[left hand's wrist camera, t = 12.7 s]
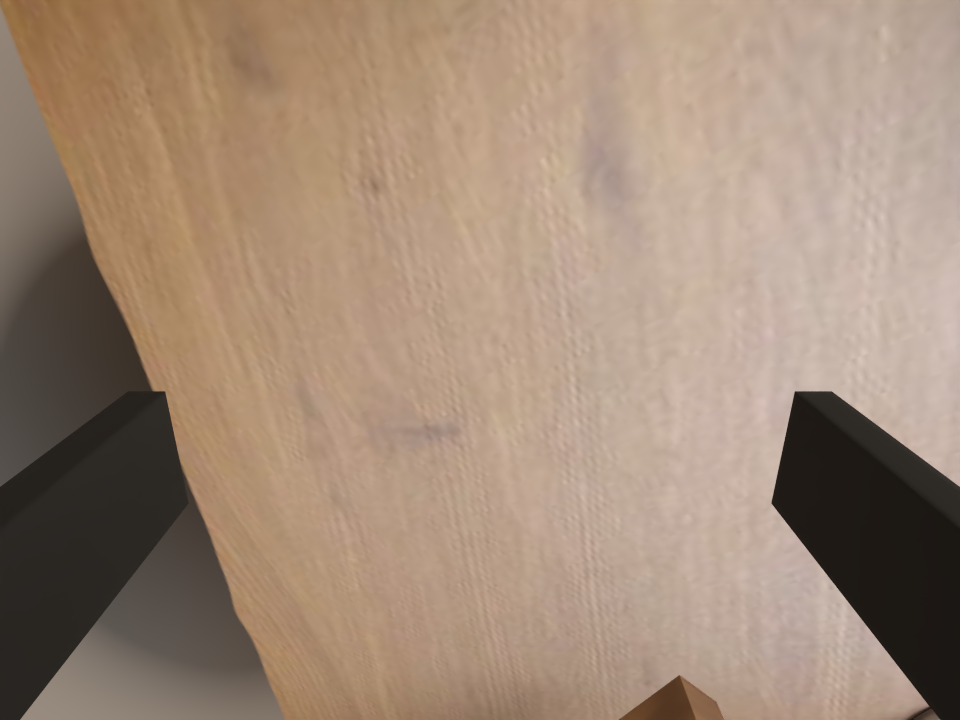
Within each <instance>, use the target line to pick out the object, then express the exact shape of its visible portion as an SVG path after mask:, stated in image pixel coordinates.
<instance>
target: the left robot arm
mask: <svg viewBox="0 0 960 720" xmlns="http://www.w3.org/2000/svg"><path fill="white" fill-rule="evenodd" d="M187 505H188V499H187V494H186V489H185V484H184V480H183V475H182V470H181V465H180V460H179V456H178V451H177V446H176V441H175V437H174V432H173V427H172V422H171V418H170V413H169V408H168V403H167V399H166V394H165V392H127V393H126V394H124V395H123V396H122V397H120V398H119V399H118V400H116V401H115V402H114V403H112V404H111V405H110V406H108V407H107V408H105V409H104V410H103V411H102V412H100V413H99V414H97V415H96V416H95V417H94V418H92V419H91V420H89V421H88V422H87V423H85V424H84V425H83V426H81V427H80V428H79V429H77V430H76V431H75V432H73V433H72V434H71V435H69V436H68V437H67V438H65V439H64V440H63V441H61V442H60V443H59V444H57V445H56V446H55V447H53V448H52V449H51V450H49V451H48V452H47V453H45V454H44V455H42V456H41V457H40V458H38V459H37V460H36V461H34V462H33V463H32V464H30V465H29V466H28V467H26V468H25V469H24V470H22V471H21V472H20V473H18V474H17V475H16V476H14V477H13V478H12V479H10V480H9V481H8V482H6V483H5V484H4V485H2V486H1V487H0V720H20V719H21V718H22V716H23V715H24V714H25V712H26V711H27V710H28V709H29V707H30V706H31V705H32V704H33V702H34V701H35V700H36V698H37V697H38V696H39V695H40V693H41V692H42V691H43V689H44V688H45V687H46V686H47V684H48V683H49V682H50V680H51V679H52V678H53V677H54V675H55V674H56V673H57V671H58V670H59V669H60V668H61V666H62V665H63V664H64V662H65V661H66V660H67V659H68V657H69V656H70V655H71V653H72V652H73V651H74V650H75V648H76V647H77V646H78V645H79V643H80V642H81V641H82V639H83V638H84V637H85V636H86V634H87V633H88V632H89V630H90V629H91V628H92V627H93V625H94V624H95V623H96V621H97V620H98V619H99V618H100V616H101V615H102V614H103V612H104V611H105V610H106V609H107V607H108V606H109V605H110V603H111V602H112V601H113V600H114V598H115V597H116V596H117V594H118V593H119V592H120V591H121V589H122V588H123V587H124V585H125V584H126V583H127V582H128V580H129V579H130V578H131V576H132V575H133V574H134V573H135V571H136V570H137V569H138V567H139V566H140V565H141V564H142V562H143V561H144V560H145V559H146V557H147V556H148V555H149V553H150V552H151V551H152V550H153V548H154V547H155V546H156V544H157V543H158V542H159V541H160V539H161V538H162V537H163V535H164V534H165V533H166V532H167V530H168V529H169V528H170V526H171V525H172V524H173V523H174V521H175V520H176V519H177V517H178V516H179V515H180V514H181V512H182V511H183V510H184V508H185V507H186V506H187ZM772 505H773V506H774V507H775V508H776V510H777V511H778V512H779V514H780V515H781V516H782V517H783V519H784V520H785V521H786V523H787V524H788V525H789V526H790V528H791V529H792V530H793V532H794V533H795V534H796V535H797V537H798V538H799V539H800V541H801V542H802V543H803V544H804V546H805V547H806V548H807V550H808V551H809V552H810V553H811V555H812V556H813V557H814V559H815V560H816V561H817V562H818V564H819V565H820V566H821V568H822V569H823V570H824V571H825V573H826V574H827V575H828V576H829V578H830V579H831V580H832V582H833V583H834V584H835V585H836V587H837V588H838V589H839V591H840V592H841V593H842V594H843V596H844V597H845V598H846V600H847V601H848V602H849V603H850V605H851V606H852V607H853V609H854V610H855V611H856V612H857V614H858V615H859V616H860V618H861V619H862V620H863V621H864V623H865V624H866V625H867V627H868V628H869V629H870V630H871V632H872V633H873V634H874V636H875V637H876V638H877V639H878V641H879V642H880V643H881V645H882V646H883V647H884V648H885V650H886V651H887V652H888V654H889V655H890V656H891V657H892V659H893V660H894V661H895V662H896V664H897V665H898V666H899V668H900V669H901V670H902V671H903V673H904V674H905V675H906V677H907V678H908V679H909V680H910V682H911V683H912V684H913V686H914V687H915V688H916V689H917V691H918V692H919V693H920V695H921V696H922V697H923V698H924V700H925V701H926V702H927V704H928V705H929V706H930V707H931V709H932V710H933V711H934V713H935V714H936V715H937V716H938V718H939V719H940V720H960V487H959V486H958V485H956V484H955V483H954V482H952V481H951V480H950V479H948V478H947V477H946V476H944V475H943V474H942V473H940V472H939V471H938V470H936V469H935V468H934V467H932V466H931V465H930V464H928V463H927V462H926V461H924V460H923V459H922V458H920V457H919V456H918V455H916V454H915V453H913V452H912V451H911V450H909V449H908V448H907V447H905V446H904V445H903V444H901V443H900V442H899V441H897V440H896V439H895V438H893V437H892V436H891V435H889V434H888V433H887V432H885V431H884V430H883V429H881V428H880V427H879V426H877V425H876V424H875V423H873V422H872V421H871V420H869V419H868V418H867V417H865V416H864V415H863V414H861V413H860V412H859V411H857V410H856V409H855V408H853V407H852V406H850V405H849V404H848V403H846V402H845V401H844V400H842V399H841V398H840V397H838V396H837V395H836V394H834V393H833V392H795V394H794V399H793V403H792V408H791V413H790V418H789V422H788V427H787V432H786V437H785V441H784V446H783V451H782V456H781V460H780V465H779V470H778V475H777V479H776V484H775V489H774V494H773V499H772Z"/></svg>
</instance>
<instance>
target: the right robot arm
mask: <svg viewBox="0 0 960 720" xmlns="http://www.w3.org/2000/svg"><path fill="white" fill-rule="evenodd" d="M913 720H940V719H939V718H938V716H937V715H936V714H935V713H934V711H933V710H932V709H930V710H928V711H926V712H924V713H922V714H920V715H919V716H917V717H916V718H914V719H913Z"/></svg>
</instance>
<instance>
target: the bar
mask: <svg viewBox="0 0 960 720" xmlns="http://www.w3.org/2000/svg"><path fill="white" fill-rule="evenodd" d="M619 720H724V719H723V717H722V714H721V712H720V710H719V707H718V705H717V702H716V701H714V700H713V699H711V698H710V697H709V696H707V695H706V694H705V693H703V692H702V691H700V690H699V689H698V688H696V687H695V686H694V685H692V684H691V683H690V682H688V681H687V680H685V679H684V678H683V677H681V676H680V675H679V676H678V677H676V678H675V679H674V680H672V681H671V682H670V683H668V684H667V685H665V686H664V687H663V688H661V689H660V690H659V691H657V692H656V693H655V694H653V695H652V696H651V697H649V698H648V699H646V700H645V701H644V702H642V703H641V704H640V705H638V706H637V707H636V708H634V709H633V710H632V711H630V712H629V713H627V714H626V715H625V716H623V717H622V718H621V719H619Z"/></svg>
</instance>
